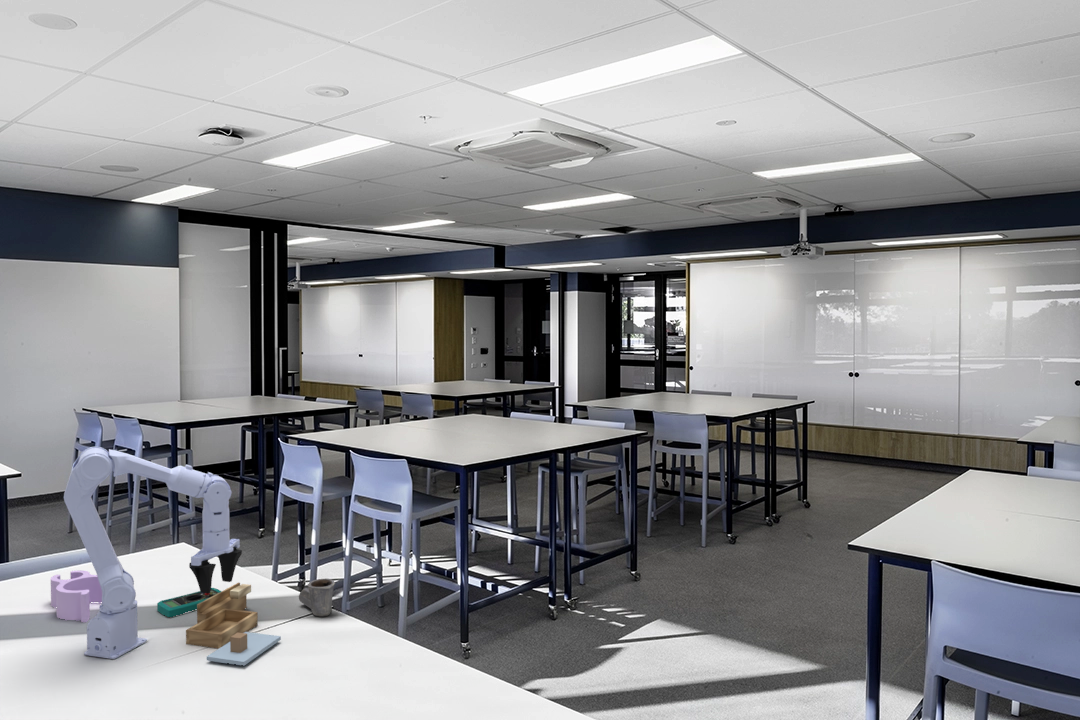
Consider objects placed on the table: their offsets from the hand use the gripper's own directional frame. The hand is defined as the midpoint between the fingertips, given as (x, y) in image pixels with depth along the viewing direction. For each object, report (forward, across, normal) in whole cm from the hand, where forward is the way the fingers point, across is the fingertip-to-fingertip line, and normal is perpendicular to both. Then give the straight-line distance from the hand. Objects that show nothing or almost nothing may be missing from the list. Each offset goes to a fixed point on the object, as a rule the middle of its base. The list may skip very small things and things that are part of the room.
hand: (216, 586), depth 171 cm
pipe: (+10, +15, -17) cm, 25 cm away
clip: (+10, +2, +40) cm, 41 cm away
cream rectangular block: (+5, +9, +1) cm, 11 cm away
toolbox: (+10, +2, -2) cm, 10 cm away
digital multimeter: (+11, +10, +15) cm, 21 cm away
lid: (+9, -9, -14) cm, 19 cm away
